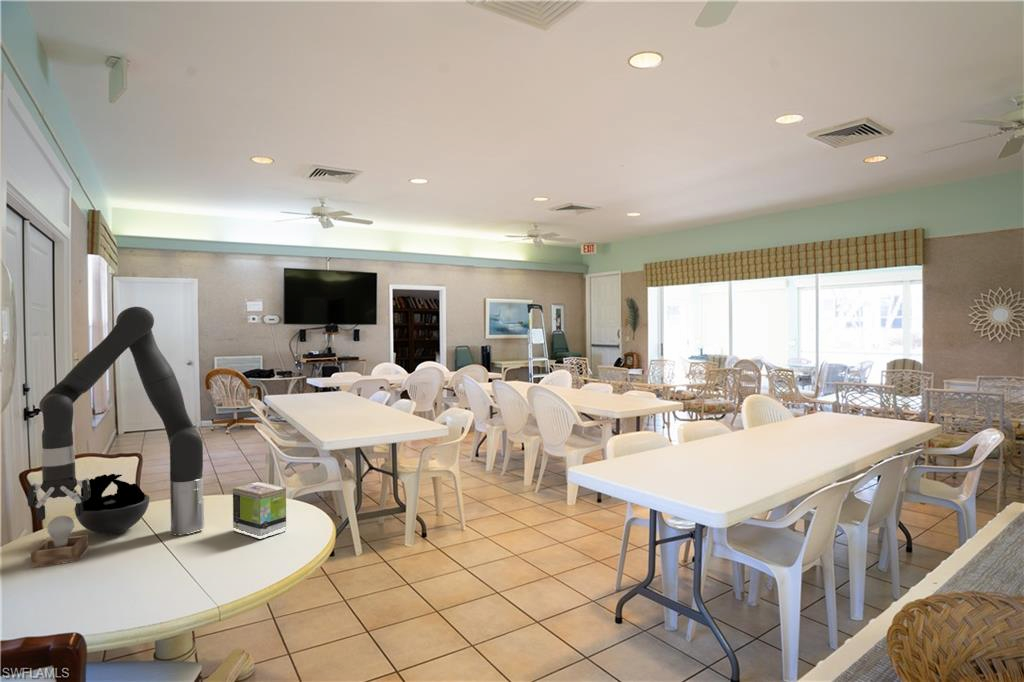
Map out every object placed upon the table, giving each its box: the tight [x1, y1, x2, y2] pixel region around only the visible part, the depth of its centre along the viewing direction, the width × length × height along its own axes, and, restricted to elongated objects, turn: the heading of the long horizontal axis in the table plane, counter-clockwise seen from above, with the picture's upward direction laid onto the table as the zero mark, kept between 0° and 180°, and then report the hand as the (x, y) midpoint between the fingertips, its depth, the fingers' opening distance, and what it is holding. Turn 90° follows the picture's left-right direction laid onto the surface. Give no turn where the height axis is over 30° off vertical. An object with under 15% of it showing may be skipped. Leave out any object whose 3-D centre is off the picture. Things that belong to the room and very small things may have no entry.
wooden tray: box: [29, 534, 90, 568], centre depth 165 cm, size 11×11×4 cm
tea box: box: [232, 481, 287, 536], centre depth 186 cm, size 15×10×15 cm, turn 58°
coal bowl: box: [74, 473, 150, 535], centre depth 185 cm, size 20×20×19 cm
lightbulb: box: [46, 515, 75, 548], centre depth 165 cm, size 6×6×11 cm
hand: (60, 517), depth 165 cm, fingers open, 8 cm apart
